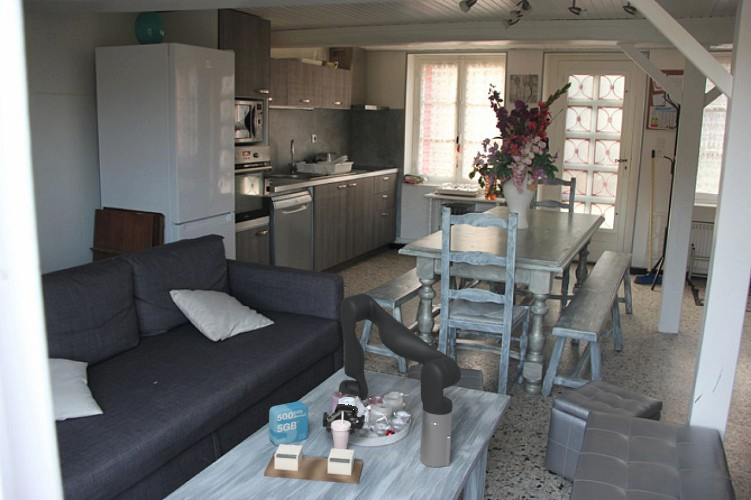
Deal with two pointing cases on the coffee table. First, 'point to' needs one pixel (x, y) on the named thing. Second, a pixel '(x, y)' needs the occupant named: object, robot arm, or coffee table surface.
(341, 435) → the smoothie
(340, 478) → the rail board
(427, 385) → the robot arm
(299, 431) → the data package
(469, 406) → the coffee table surface
